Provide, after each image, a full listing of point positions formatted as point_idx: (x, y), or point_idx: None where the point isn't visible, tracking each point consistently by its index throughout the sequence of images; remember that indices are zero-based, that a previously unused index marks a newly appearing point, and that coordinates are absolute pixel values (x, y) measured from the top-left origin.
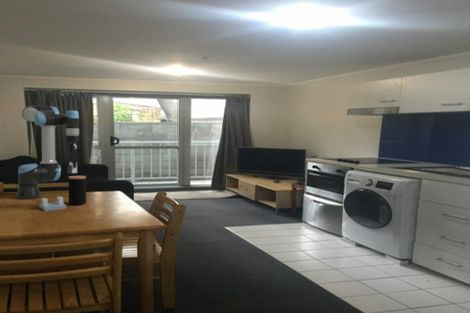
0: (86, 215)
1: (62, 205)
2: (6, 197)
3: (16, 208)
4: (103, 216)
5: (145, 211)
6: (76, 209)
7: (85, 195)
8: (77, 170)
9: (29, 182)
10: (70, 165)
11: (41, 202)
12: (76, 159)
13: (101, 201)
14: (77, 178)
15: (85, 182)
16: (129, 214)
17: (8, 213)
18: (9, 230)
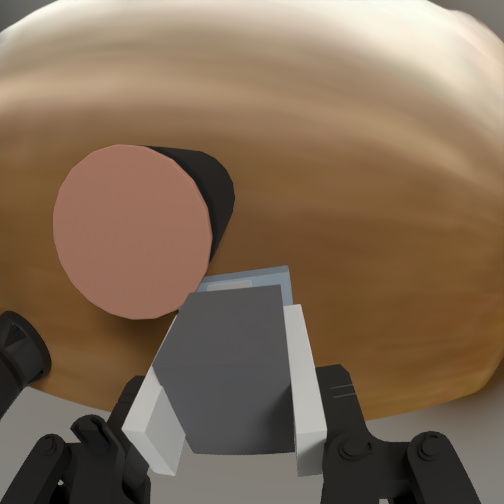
0: (458, 213)
1: (285, 287)
2: None
3: None
4: (491, 165)
5: (466, 17)
6: (334, 224)
7: (205, 156)
8: (282, 307)
9: (10, 381)
10: (261, 441)
11: None
12: (416, 483)
13: (171, 69)
14: (210, 248)
15: (178, 154)
16: (492, 80)
17: None
18: (458, 393)
